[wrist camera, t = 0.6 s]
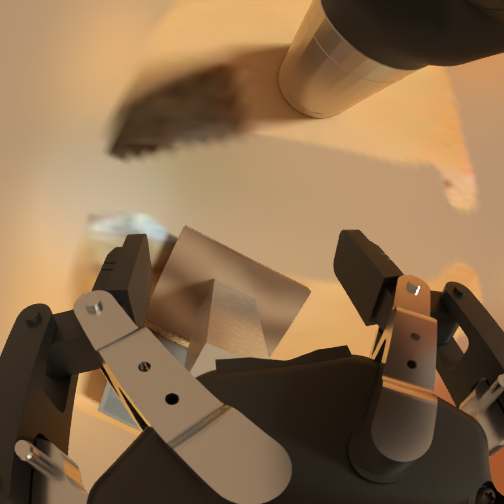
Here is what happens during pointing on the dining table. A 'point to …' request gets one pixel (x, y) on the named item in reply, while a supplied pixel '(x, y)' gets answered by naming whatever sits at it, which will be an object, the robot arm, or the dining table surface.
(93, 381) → the dining table surface
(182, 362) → the grey tray
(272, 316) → the stud block
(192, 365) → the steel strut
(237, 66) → the dining table surface
